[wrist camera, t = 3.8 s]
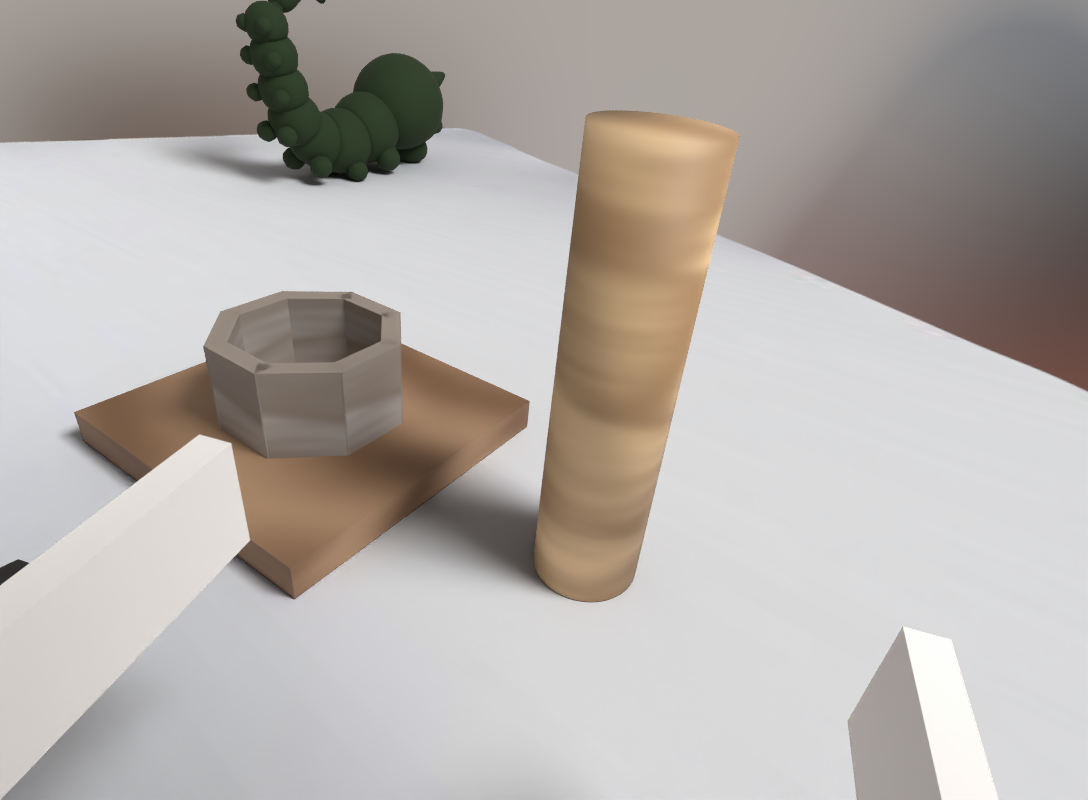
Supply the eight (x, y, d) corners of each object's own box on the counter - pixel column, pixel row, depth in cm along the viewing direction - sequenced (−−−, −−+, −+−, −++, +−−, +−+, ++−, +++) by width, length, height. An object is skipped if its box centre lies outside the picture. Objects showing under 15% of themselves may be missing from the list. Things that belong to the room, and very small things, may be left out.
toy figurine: (317, 217, 62) (478, 156, 79) (277, -22, 50) (475, -33, 68) (250, 195, 66) (417, 141, 83) (199, -33, 54) (405, -40, 72)
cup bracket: (335, 335, 39) (327, 246, 36) (526, 426, 33) (536, 327, 30) (83, 440, 29) (45, 328, 26) (294, 598, 23) (275, 475, 20)
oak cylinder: (568, 511, 28) (629, 106, 20) (652, 555, 26) (760, 132, 18) (512, 566, 25) (556, 118, 17) (603, 620, 23) (703, 150, 15)
